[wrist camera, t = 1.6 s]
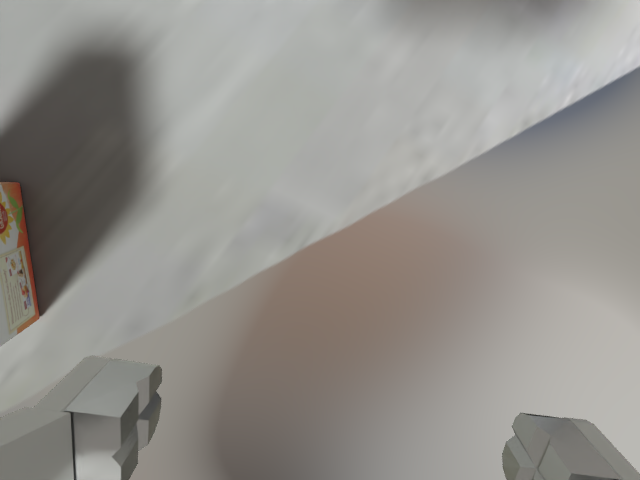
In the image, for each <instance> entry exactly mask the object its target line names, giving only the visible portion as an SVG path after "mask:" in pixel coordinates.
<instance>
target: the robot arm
mask: <svg viewBox="0 0 640 480" xmlns="http://www.w3.org/2000/svg"><path fill="white" fill-rule="evenodd" d="M161 382H162V369H161V367H160V366H159V365H153V364H147V363H140V362H134V361H127V360H121V359H112V358H105V357H99V356H89V357H86V358H84V359H83V360H82V361H81V362H80V363H79V364H78V365H77V366H76V367H75V368H74V369H73V370H72V371H71V372H70V373H69V374H68V375H67V376H66V377H65V378H63V379H62V380H61V381H60V382H59V383H58V384H57V385H56V386H55V387H54V388H53V389H52V390H51V391H50V392H49V393H48V394H47V395H46V396H45V397H44V398H43V399H42V400H41V401H40V402H39V403H38V404H37V405H36V406H35V407H34V408H29V407H24V408H22V409H19V410H17V411H15V412H12V413H10V414H7V415H5V416H3V417H0V480H129V479H130V477H131V475H132V473H133V471H134V469H135V468H136V466H137V464H138V451H139V450H141V449H142V448H144V447H145V446H147V445H148V444H149V442H150V440H151V438H152V436H153V434H154V432H155V429H156V426H157V423H158V420H159V415H160V409H161V397H160V396H159V394H158V393H157V392H156V390H157V389H158V387H159V385H160V384H161ZM512 428H513V430H514V433H515V436H514V437H512V438H511V439H509V440H508V441H507V442H506V444H505V447H504V450H503V453H502V462H503V470H504V473H505V477H506V479H507V480H640V474H639V473H638V472H637V470H636V469H635V468H634V467H633V466H632V465H631V464H630V463H629V462H628V461H627V460H626V459H625V457H624V456H623V455H622V454H621V453H620V452H619V451H618V450H617V449H616V448H615V447H614V446H613V445H612V443H611V442H610V441H609V440H608V439H607V438H606V437H605V436H604V435H603V434H602V433H601V431H600V430H599V429H598V428H597V427H596V426H595V425H594V424H592V423H590V422H589V421H587V420H583V419H573V418H558V417H550V416H542V415H534V414H525V413H520V414H519V415H518V416H517V417H516V418H515V420H514V423H513V425H512Z"/></svg>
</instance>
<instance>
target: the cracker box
mask: <svg viewBox="0 0 640 480" xmlns="http://www.w3.org/2000/svg"><path fill="white" fill-rule="evenodd" d="M38 319H39V310H38V303H37V296H36V289H35V283H34V276H33V269H32V263H31V256H30V250H29V242H28V235H27V229H26V222H25V215H24V209H23V202H22V195H21V187H20V184H19V183H17V182H0V346H2V345H3V344H5V343H6V342H7V341H9V340H10V339H12V338H13V337H14V336H16V335H17V334H19V333H20V332H22V331H23V330H24V329H26V328H27V327H29V326H30V325H31V324H33V323H34V322H35V321H37V320H38Z"/></svg>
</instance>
